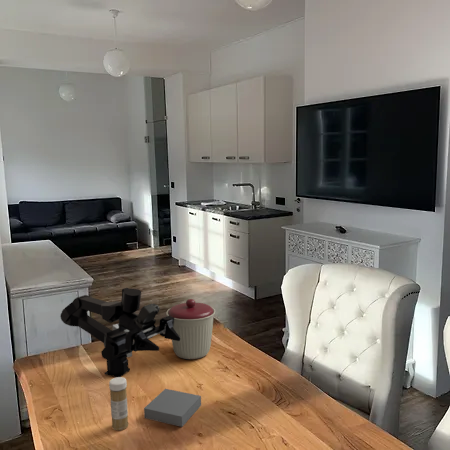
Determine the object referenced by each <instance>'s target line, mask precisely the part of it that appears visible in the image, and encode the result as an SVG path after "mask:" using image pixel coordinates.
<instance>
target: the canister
mask: <svg viewBox="0 0 450 450" xmlns="http://www.w3.org/2000/svg"><path fill="white" fill-rule="evenodd" d="M165 314H166V317H167V316H169V315H170V316H172V317H173V318H174V326H173V328H174V330H175V331H176V332H177V334H178V335H179V337H180V341H175V340H171V344H172V349H173V352H174V354H175V356H177V357H178V358H181V359H185V360H196V359H201V358H203V357H205V356H207V355H208V353H209V352H210V350H211V344H212V337H213V325H214V316H215V314H216V309H215V308H214V307H213V306H211V305H209V304H206V303H202V302H196V300H195V299H194V298H188V299H187V300H186V301H185V302H183V303H178V304H174V305H173V306H171V307H170V308H168V309H167V311H166V313H165Z"/></svg>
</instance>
